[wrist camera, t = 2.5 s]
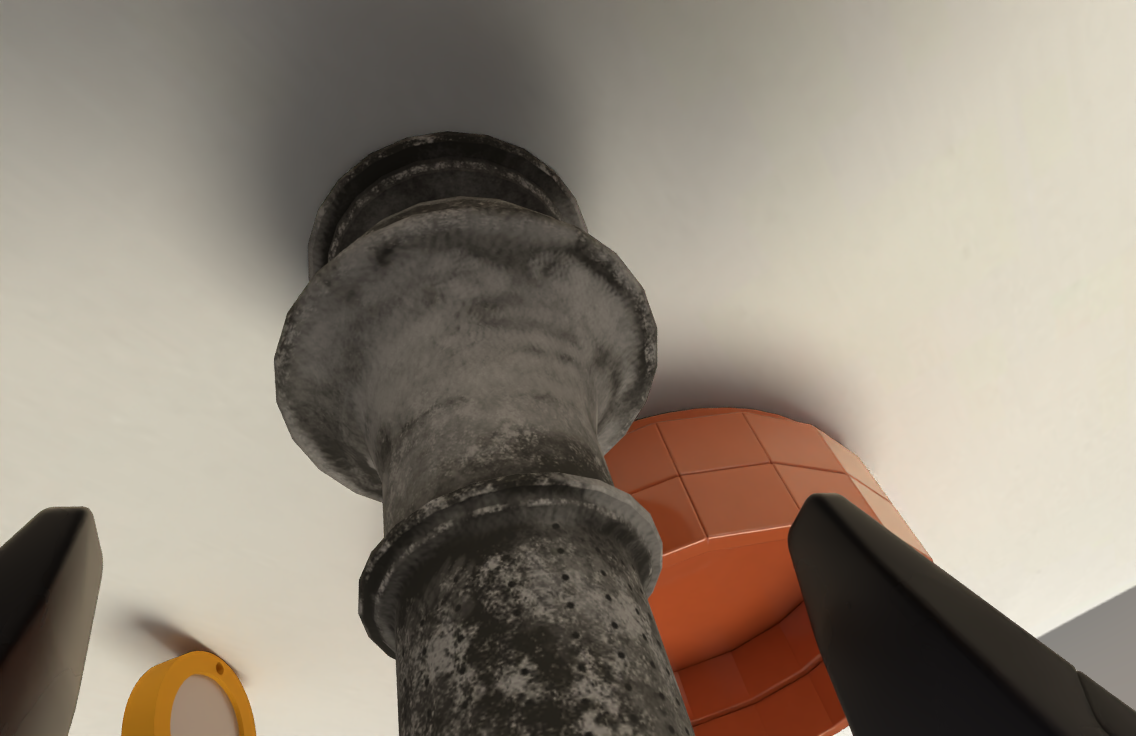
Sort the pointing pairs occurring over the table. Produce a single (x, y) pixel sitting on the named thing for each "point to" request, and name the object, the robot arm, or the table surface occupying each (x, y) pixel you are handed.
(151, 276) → the table surface
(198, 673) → the tracker
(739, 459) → the bowl
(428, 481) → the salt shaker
